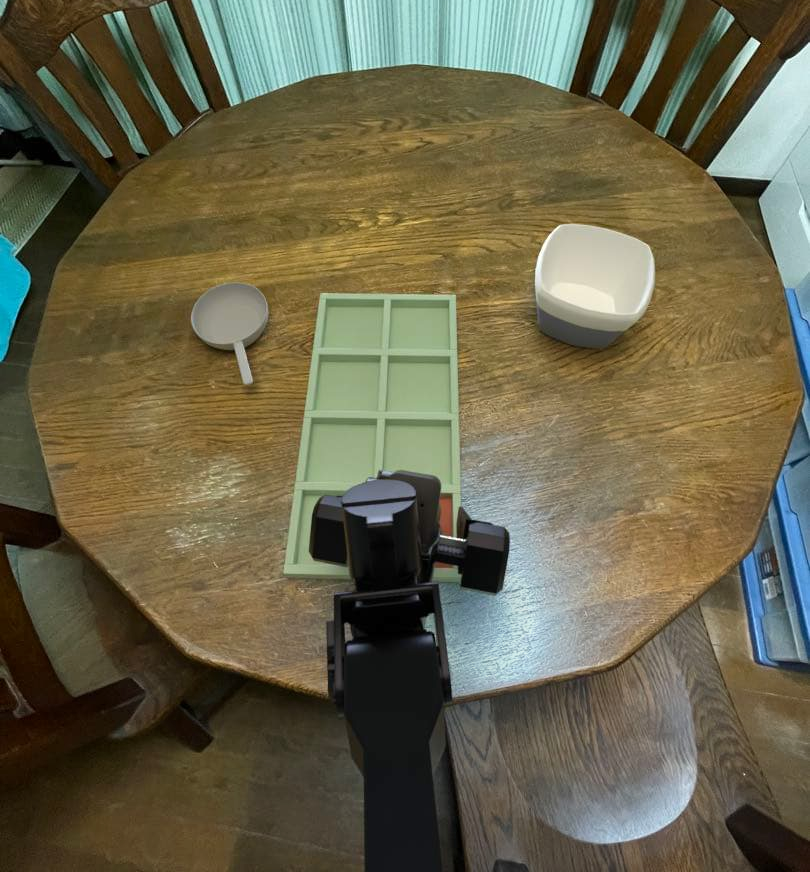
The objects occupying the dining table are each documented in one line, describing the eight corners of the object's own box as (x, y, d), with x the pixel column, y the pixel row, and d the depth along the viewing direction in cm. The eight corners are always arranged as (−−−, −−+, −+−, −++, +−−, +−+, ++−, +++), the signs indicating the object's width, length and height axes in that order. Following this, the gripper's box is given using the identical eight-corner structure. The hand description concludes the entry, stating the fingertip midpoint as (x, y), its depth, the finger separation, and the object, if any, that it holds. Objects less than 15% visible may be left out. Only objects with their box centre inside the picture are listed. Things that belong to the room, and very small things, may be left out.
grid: (461, 582, 67) (463, 578, 65) (286, 577, 68) (282, 573, 66) (455, 304, 88) (455, 294, 86) (322, 302, 89) (320, 293, 87)
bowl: (537, 263, 92) (551, 212, 83) (638, 289, 89) (663, 239, 80) (513, 342, 84) (525, 295, 75) (622, 373, 81) (649, 328, 72)
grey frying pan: (262, 287, 91) (257, 272, 87) (293, 384, 81) (288, 370, 78) (192, 308, 89) (184, 293, 85) (216, 410, 79) (207, 397, 76)
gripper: (523, 525, 47) (515, 448, 62) (296, 484, 49) (342, 420, 64) (502, 646, 49) (499, 543, 64) (286, 602, 51) (333, 513, 66)
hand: (418, 503), depth 65 cm, fingers open, 9 cm apart
